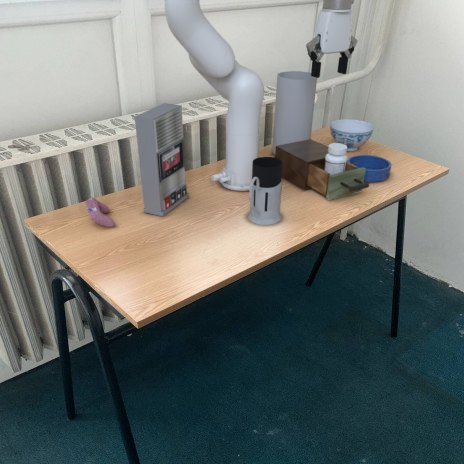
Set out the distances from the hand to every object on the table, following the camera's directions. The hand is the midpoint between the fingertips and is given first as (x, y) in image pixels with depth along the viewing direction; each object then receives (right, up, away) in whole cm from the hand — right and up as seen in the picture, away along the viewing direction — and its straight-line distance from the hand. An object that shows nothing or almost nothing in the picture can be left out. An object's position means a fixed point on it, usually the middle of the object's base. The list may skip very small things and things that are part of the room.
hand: (328, 75), depth 138 cm
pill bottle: (+2, -30, +4) cm, 31 cm away
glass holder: (-20, -44, -11) cm, 49 cm away
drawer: (+3, -32, +4) cm, 32 cm away
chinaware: (+14, -9, +35) cm, 39 cm away
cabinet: (-4, -25, +13) cm, 29 cm away
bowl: (+15, -24, +15) cm, 32 cm away
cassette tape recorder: (-45, -38, -4) cm, 59 cm away
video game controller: (-62, -44, -11) cm, 77 cm away
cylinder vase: (-7, -13, +30) cm, 33 cm away
